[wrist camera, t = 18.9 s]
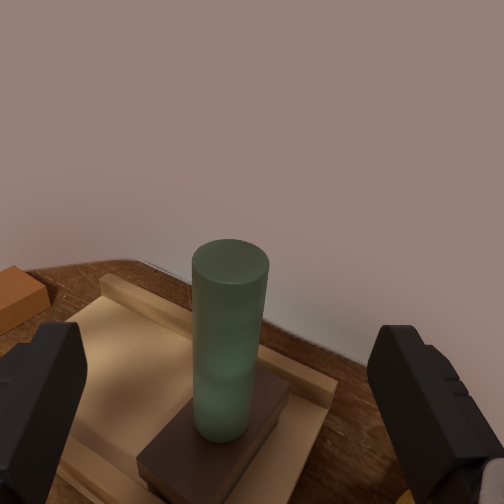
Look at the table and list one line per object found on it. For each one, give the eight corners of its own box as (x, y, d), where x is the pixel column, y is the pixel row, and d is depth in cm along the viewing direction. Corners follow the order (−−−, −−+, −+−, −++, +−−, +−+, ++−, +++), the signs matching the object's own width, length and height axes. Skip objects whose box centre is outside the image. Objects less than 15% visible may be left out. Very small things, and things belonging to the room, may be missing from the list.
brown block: (51, 306, 29) (46, 285, 28) (-3, 337, 26) (-12, 316, 25) (20, 285, 31) (14, 265, 29) (-34, 312, 28) (-44, 291, 27)
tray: (330, 408, 24) (338, 380, 22) (238, 617, 15) (242, 595, 14) (112, 298, 30) (108, 271, 29) (-33, 403, 22) (-50, 374, 20)
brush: (284, 420, 21) (324, 234, 15) (201, 546, 16) (204, 349, 10) (231, 387, 23) (246, 205, 16) (141, 493, 18) (107, 290, 11)
